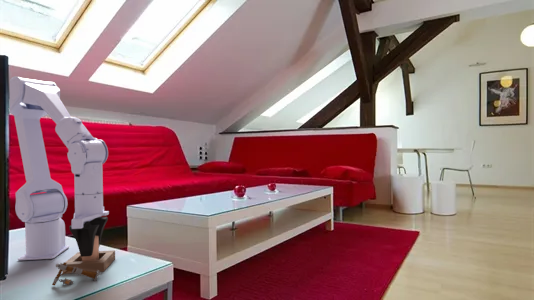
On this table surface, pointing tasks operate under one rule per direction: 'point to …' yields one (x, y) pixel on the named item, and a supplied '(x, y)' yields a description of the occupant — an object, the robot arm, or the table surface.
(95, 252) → the terracotta peg
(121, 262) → the table surface
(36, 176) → the robot arm
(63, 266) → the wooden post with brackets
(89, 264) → the walnut socket collar
